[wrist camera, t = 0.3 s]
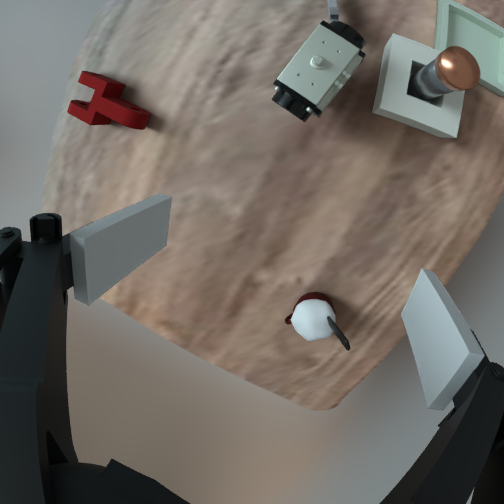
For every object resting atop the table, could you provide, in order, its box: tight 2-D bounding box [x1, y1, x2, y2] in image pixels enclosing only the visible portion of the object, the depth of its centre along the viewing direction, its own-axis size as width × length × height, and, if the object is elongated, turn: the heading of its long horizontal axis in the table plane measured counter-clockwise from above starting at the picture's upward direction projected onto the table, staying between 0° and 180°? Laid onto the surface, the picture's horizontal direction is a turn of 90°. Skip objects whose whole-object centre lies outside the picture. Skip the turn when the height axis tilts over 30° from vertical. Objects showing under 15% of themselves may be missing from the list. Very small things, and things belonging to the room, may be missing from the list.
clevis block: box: [372, 33, 465, 138], centre depth 29 cm, size 10×10×6 cm
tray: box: [434, 0, 504, 96], centre depth 25 cm, size 11×12×2 cm
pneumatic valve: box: [272, 21, 366, 122], centre depth 29 cm, size 6×12×12 cm, turn 146°
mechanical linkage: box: [67, 71, 151, 130], centre depth 39 cm, size 16×7×5 cm, turn 61°
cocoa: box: [285, 292, 350, 350], centre depth 40 cm, size 10×6×12 cm, turn 92°
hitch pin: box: [407, 46, 480, 101], centre depth 24 cm, size 4×4×15 cm
